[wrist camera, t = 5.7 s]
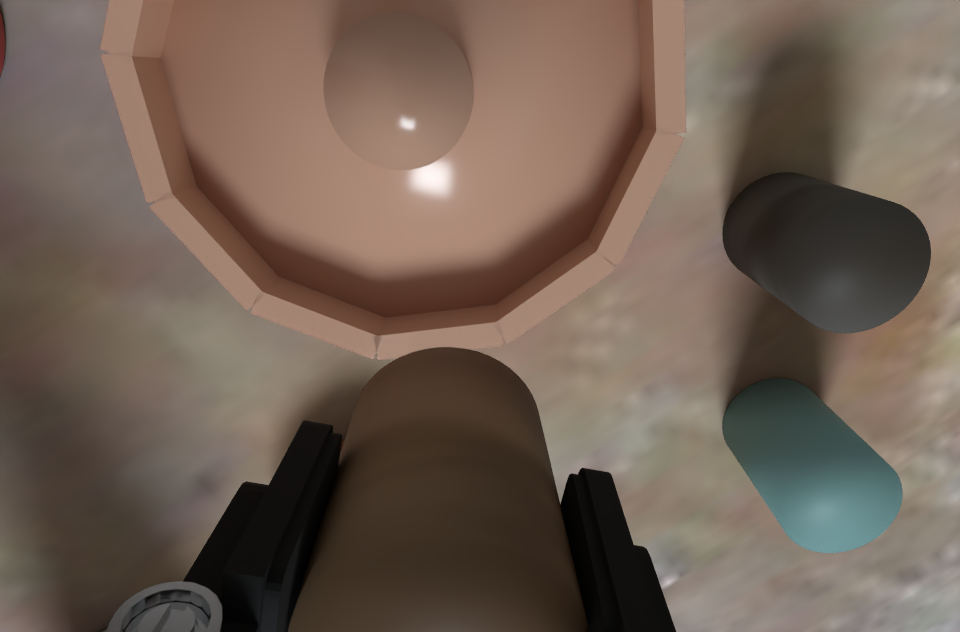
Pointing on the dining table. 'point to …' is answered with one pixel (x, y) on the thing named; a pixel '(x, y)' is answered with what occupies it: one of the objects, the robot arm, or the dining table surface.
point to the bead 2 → (828, 250)
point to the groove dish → (401, 153)
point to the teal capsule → (811, 467)
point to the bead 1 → (442, 509)
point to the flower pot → (2, 44)
